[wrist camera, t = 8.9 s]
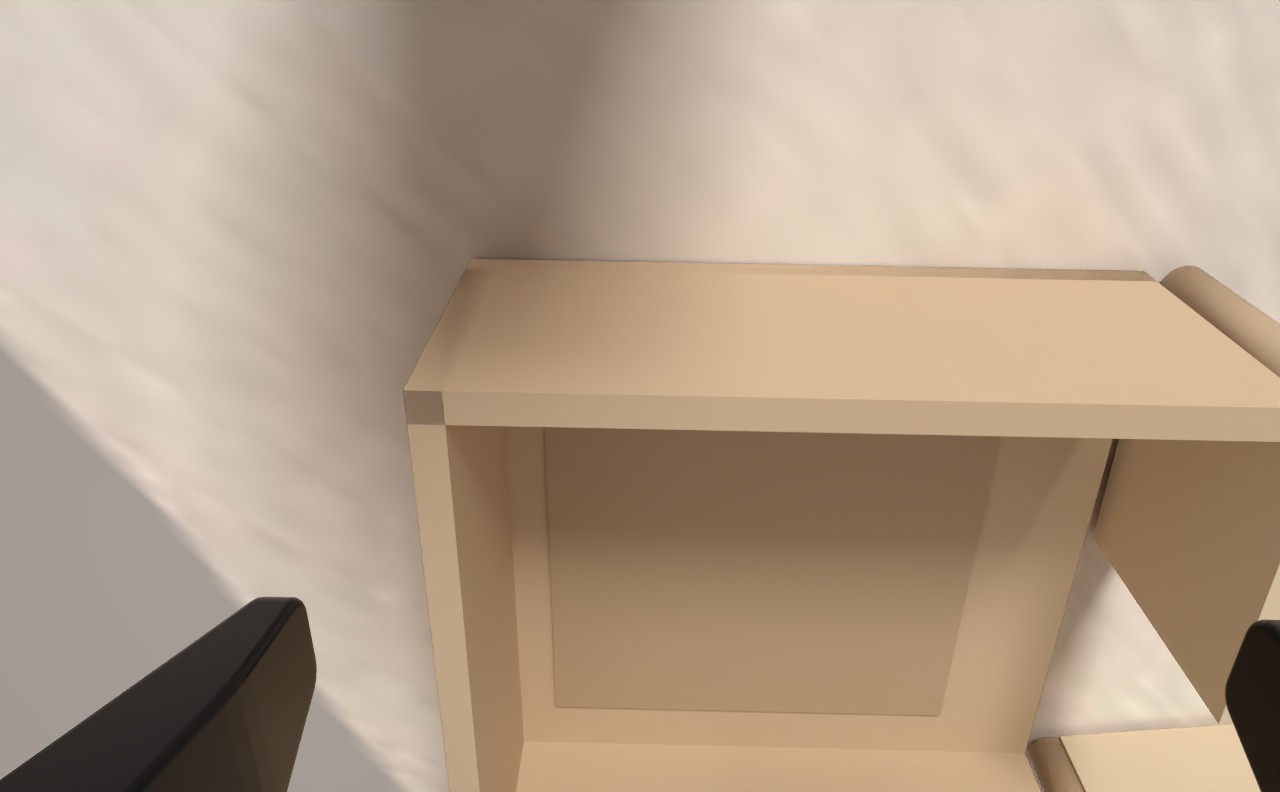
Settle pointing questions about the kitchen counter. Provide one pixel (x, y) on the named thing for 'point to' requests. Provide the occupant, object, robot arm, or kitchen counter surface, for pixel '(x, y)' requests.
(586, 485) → the carton
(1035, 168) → the kitchen counter surface
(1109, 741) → the flap far
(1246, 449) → the flap near
